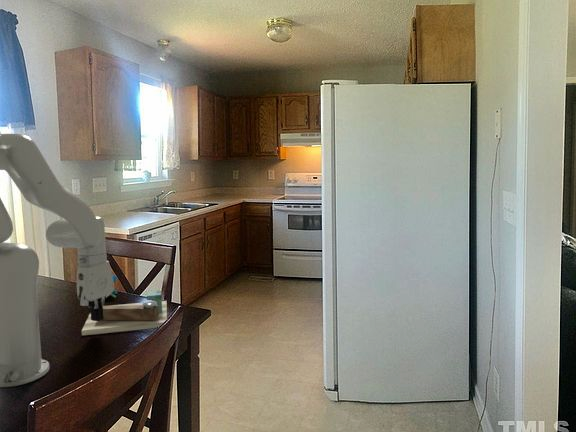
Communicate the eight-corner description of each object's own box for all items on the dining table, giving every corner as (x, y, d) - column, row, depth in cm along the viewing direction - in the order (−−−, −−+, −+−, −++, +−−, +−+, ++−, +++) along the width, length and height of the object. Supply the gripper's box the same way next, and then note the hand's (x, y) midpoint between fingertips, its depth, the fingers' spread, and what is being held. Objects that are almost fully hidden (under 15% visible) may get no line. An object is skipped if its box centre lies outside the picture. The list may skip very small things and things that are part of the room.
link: (158, 315, 139) (158, 304, 138) (155, 320, 134) (154, 308, 134) (101, 316, 138) (100, 305, 138) (95, 320, 134) (95, 309, 134)
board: (167, 326, 134) (167, 322, 134) (81, 335, 128) (81, 330, 128) (166, 304, 155) (166, 300, 155) (93, 311, 149) (93, 307, 149)
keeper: (162, 312, 143) (161, 294, 142) (147, 313, 142) (146, 296, 141) (162, 307, 148) (161, 290, 147) (148, 308, 146) (147, 291, 146)
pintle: (156, 320, 135) (156, 304, 135) (143, 322, 134) (142, 306, 134) (157, 316, 139) (156, 300, 138) (143, 317, 138) (143, 302, 137)
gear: (95, 288, 170) (114, 269, 171) (107, 297, 173) (126, 278, 174) (94, 300, 160) (113, 280, 161) (107, 309, 163) (126, 290, 164)
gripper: (83, 266, 119) (88, 331, 121) (121, 254, 133) (125, 312, 135) (61, 264, 121) (67, 328, 124) (101, 252, 135) (105, 310, 138)
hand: (97, 319), depth 129 cm, fingers closed
